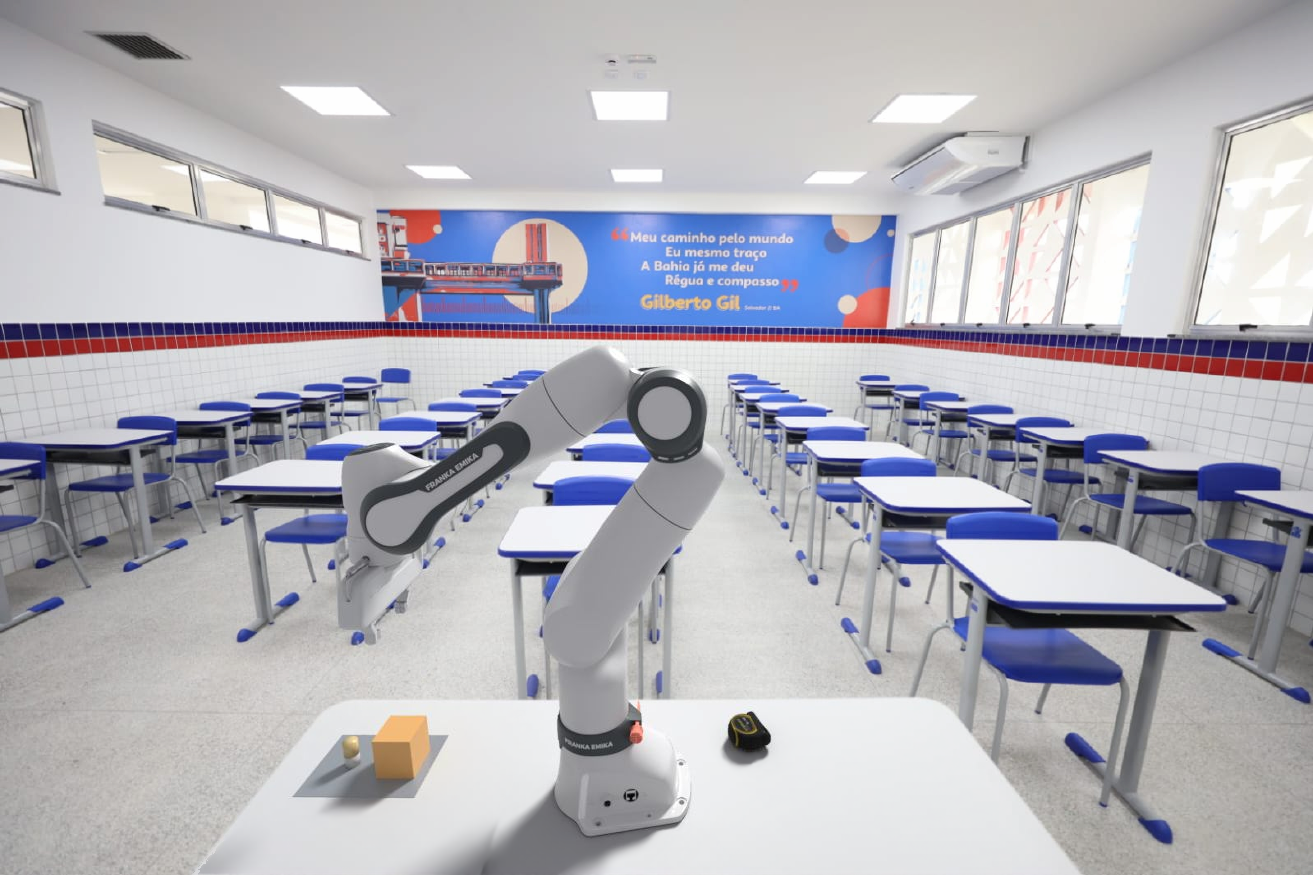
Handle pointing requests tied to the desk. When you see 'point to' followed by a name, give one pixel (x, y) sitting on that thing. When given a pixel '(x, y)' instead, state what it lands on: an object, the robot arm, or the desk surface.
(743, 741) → the tape measure
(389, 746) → the amber rectangular brick
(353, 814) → the desk surface
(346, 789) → the plate
